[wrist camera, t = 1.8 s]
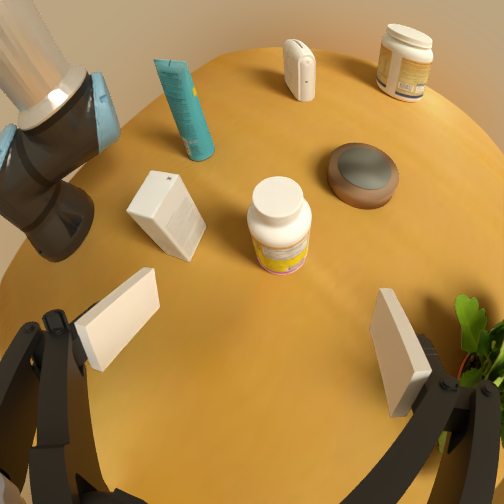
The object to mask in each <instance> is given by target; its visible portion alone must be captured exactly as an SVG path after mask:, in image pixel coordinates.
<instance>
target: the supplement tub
mask: <svg viewBox="0 0 504 504" xmlns="http://www.w3.org/2000/svg"><path fill="white" fill-rule="evenodd" d="M386 32H387V34H385V35H384V36H383V37H382V42H381V49H380V56H379V63H378V70H377V76H376V82H377V85H378V86H379V88H380V89H381V90H382V91H384V92H385V93H387V94H388V95H390V96H392V97H394V98H396V99H399V100H402V101H406V102H417V101H419V100H420V99H421V98H422V96H423V93H424V90H425V86H426V83H427V79H428V76H429V72H430V68H431V64H432V60H433V53H432V51H431V49H430V48H432V39H431V38H430V37H428V36H427V35H425V34H424V33H422V32H419V31H417V30H415V29H413V28H409V27H407V26H403V25H398V24H388V27H387V30H386Z"/></svg>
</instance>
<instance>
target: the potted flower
mask: <svg viewBox="0 0 504 504" xmlns="http://www.w3.org/2000/svg"><path fill="white" fill-rule="evenodd" d="M455 308H456V314H457V318H458V321H459V323H460V325H461V331H462V334H461V336H462V340H461V349H462V350H464V351H465V352H467V356H466V357H465V359H464V360H463V362H462V364H461V366H460V369H459V372H458V375H457V379H458V381H459V382H460V384H461V386H463V387H470V388H475V387H476V385H477V384H478V382H479V381H481V380H489V381H492V382H493V383H495V384H496V385H497V387H498V388H499V392H500V408H501V431H500V436H501V441H502V446H503V448H504V320H503V321H502V322H500V323H498V324H497V325H496V326H495V327H494V328H492V329H491V330H490V332H489V333H488V330H485V329H486V326H487V320H488V317H487V316H486V317H484V315H485V314H486V312H485V309H484V308H482V309H480V310H479V303H478V301H477V299H476V298H475V297H472V298H470V299H469V298H468V297H467V296H466V295H465V294H464V295H461V294H460V295H458V296H457V297H456V300H455ZM487 333H488V334H487ZM446 436H447V432H446V431H442V433H441V435H440V437H439V440H438V442H439V444H440V445H439V451H440V453H441V454H443V450H444V445H445V441H446Z"/></svg>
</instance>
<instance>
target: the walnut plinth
mask: <svg viewBox="0 0 504 504" xmlns="http://www.w3.org/2000/svg"><path fill="white" fill-rule="evenodd" d="M327 179H328V183H329V186H330V188H331V190H332V191H333V193H334V194H335V195H336V196H337V197H338V198H339V199H340V200H342V201H343V202H345V203H346V204H348V205H350V206H353V207H356V208H360V209H376V208H380V207H382V206H384V205H385V204H387V203H388V202H389V200H390V199H391V197H392V195H393V193H394V191H395V189H396V187H397V185H398V182H399V173H398V169H397V167H396V165H395V163H394V162H393V160H392V159H391V158H390V157H389V156H388V155H387V154H386V153H384V152H383V151H381V150H380V149H378V148H376V147H374V146H371V145H368V144H363V143H348V144H344V145H342V146H340V147H338V148H337V149H336V150H334V152H333V153H332V155H331V157H330V160H329V167H328V174H327Z"/></svg>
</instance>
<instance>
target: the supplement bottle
mask: <svg viewBox="0 0 504 504" xmlns="http://www.w3.org/2000/svg"><path fill="white" fill-rule="evenodd" d="M252 201H253V202H252V203H251V205H250V207H249V209H248V213H247V223H248V227H249V231H250V234H251V238H252V241H253V245H254V249H255V252H256V256H257V259H258V261H259V263H260V264H261V266H262V267H263V268H264V269H265V270H267V271H268V272H270V273H273V274H277V275H286V274H290V273H292V272H294V271H296V270H297V269H299V268H300V267H301V266H302V264H303V263H304V261H305V259H306V256H307V250H308V242H309V234H310V227H311V219H312V216H311V210H310V207H309V205H308V203H307V201H306V200H305V199H304V198H303V193H302V190H301V188H300V186H299V185H298V184H297V183H296V182H295V181H293V180H292V179H289V178H287V177H281V176H276V177H270V178H267V179H265V180H263V181H261V182H260V183H259V184H258V185H257V186H256V187H255V189H254V191H253V195H252Z"/></svg>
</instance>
